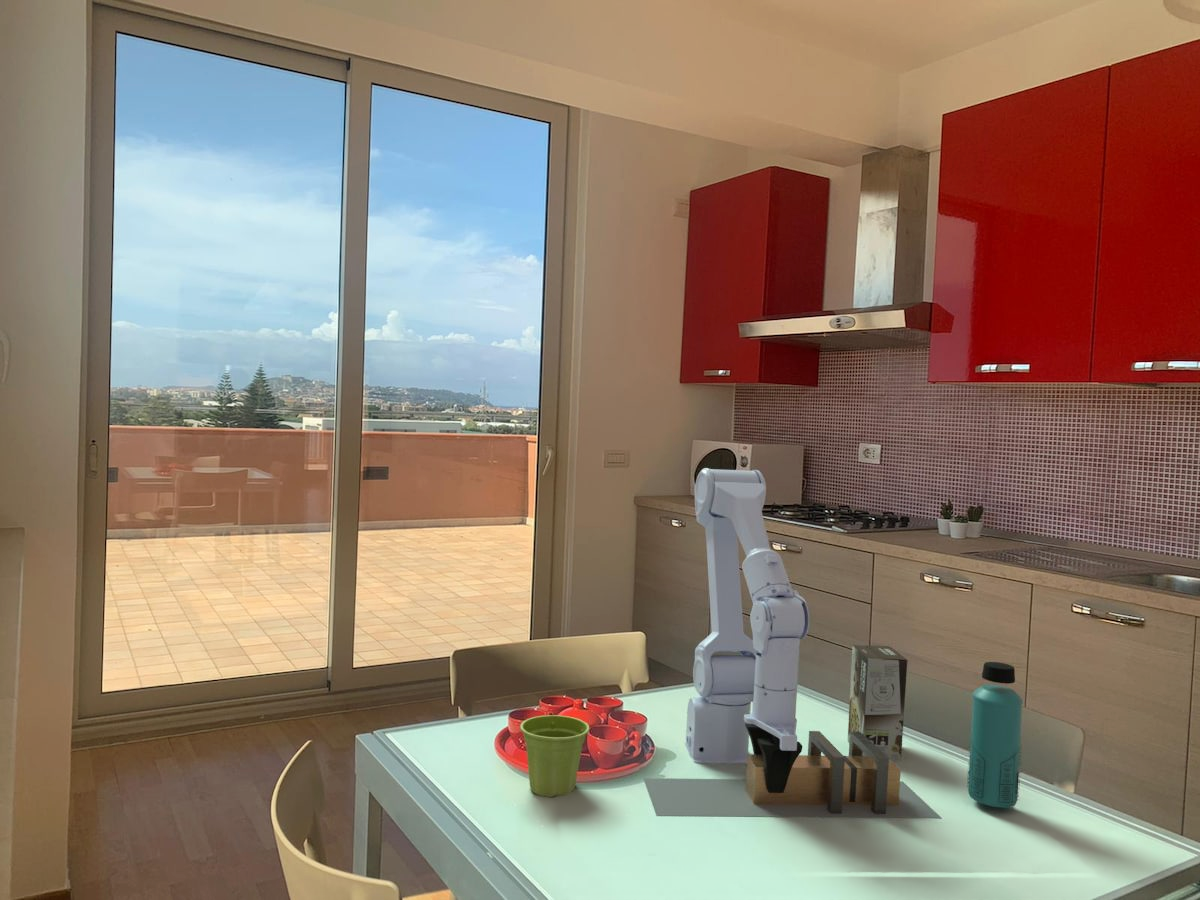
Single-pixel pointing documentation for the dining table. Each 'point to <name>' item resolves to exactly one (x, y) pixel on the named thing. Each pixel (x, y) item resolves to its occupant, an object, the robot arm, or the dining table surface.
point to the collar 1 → (836, 774)
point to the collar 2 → (879, 772)
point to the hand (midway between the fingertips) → (770, 784)
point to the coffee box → (878, 697)
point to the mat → (735, 802)
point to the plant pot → (553, 752)
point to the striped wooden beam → (820, 781)
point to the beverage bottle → (995, 739)
